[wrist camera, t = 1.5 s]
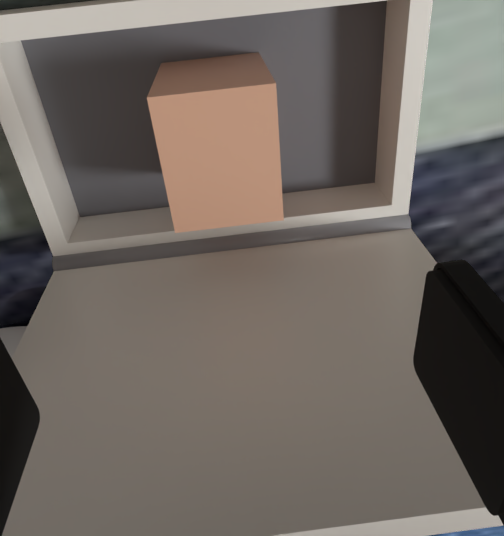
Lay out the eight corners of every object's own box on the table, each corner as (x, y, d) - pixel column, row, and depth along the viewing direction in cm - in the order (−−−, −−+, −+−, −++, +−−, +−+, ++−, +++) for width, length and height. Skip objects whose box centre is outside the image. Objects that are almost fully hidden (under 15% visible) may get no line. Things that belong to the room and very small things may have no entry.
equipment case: (385, 214, 30) (595, 512, 14) (61, 252, 30) (-111, 606, 13) (406, -34, 22) (925, -9, 6) (-29, 13, 22) (-673, 168, 6)
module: (266, 163, 27) (283, 220, 21) (181, 173, 27) (175, 233, 21) (258, 52, 24) (276, 83, 18) (161, 63, 24) (146, 97, 18)
